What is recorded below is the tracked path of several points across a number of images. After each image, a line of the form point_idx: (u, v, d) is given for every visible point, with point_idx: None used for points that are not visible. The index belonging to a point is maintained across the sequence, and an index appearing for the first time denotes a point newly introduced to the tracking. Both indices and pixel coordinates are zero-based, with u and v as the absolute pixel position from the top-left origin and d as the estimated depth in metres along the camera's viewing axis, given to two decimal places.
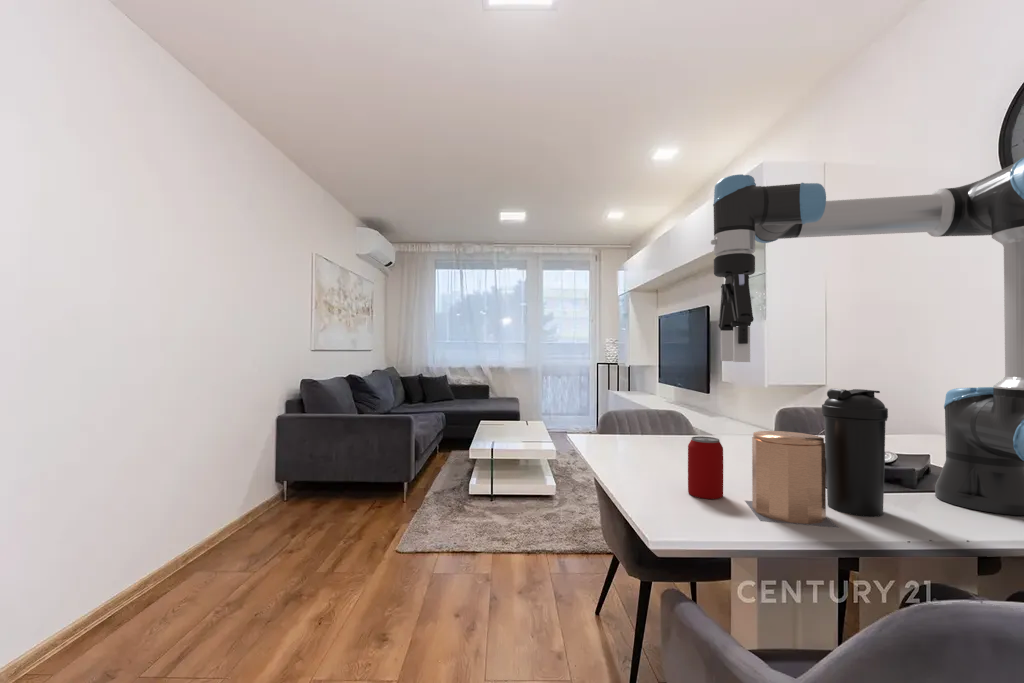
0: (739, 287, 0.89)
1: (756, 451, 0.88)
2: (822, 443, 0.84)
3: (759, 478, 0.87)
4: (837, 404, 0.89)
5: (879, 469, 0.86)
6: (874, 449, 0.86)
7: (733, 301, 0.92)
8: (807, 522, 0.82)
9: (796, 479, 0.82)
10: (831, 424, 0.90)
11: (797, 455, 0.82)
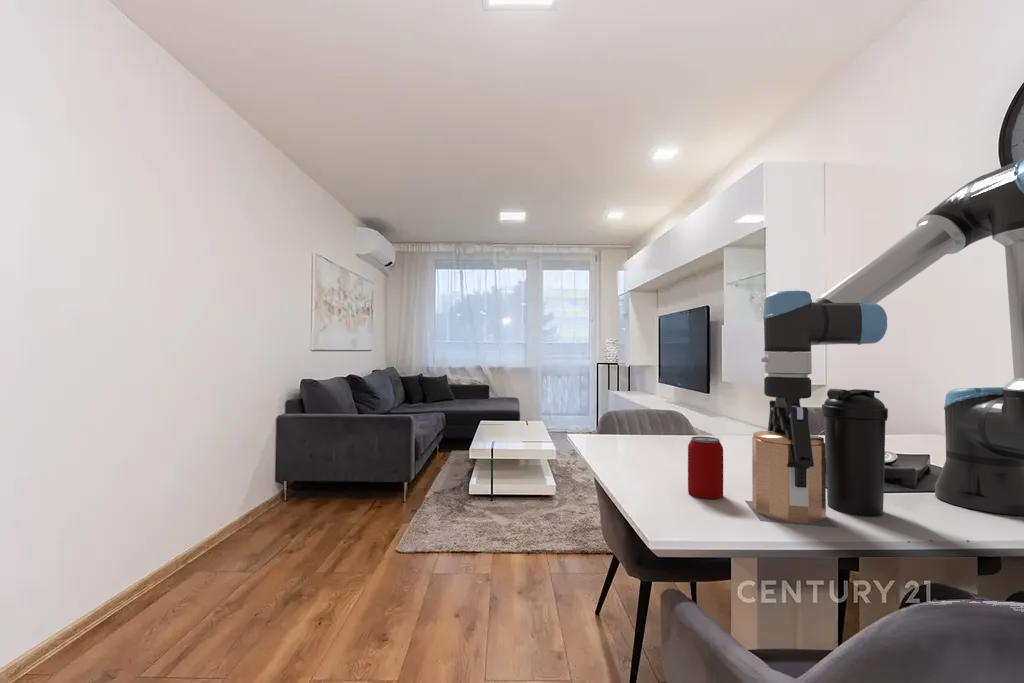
0: (797, 423, 0.81)
1: (756, 451, 0.88)
2: (822, 443, 0.84)
3: (759, 478, 0.87)
4: (837, 404, 0.89)
5: (879, 469, 0.86)
6: (874, 449, 0.86)
7: (788, 434, 0.84)
8: (807, 522, 0.82)
9: None
10: (831, 424, 0.90)
11: None
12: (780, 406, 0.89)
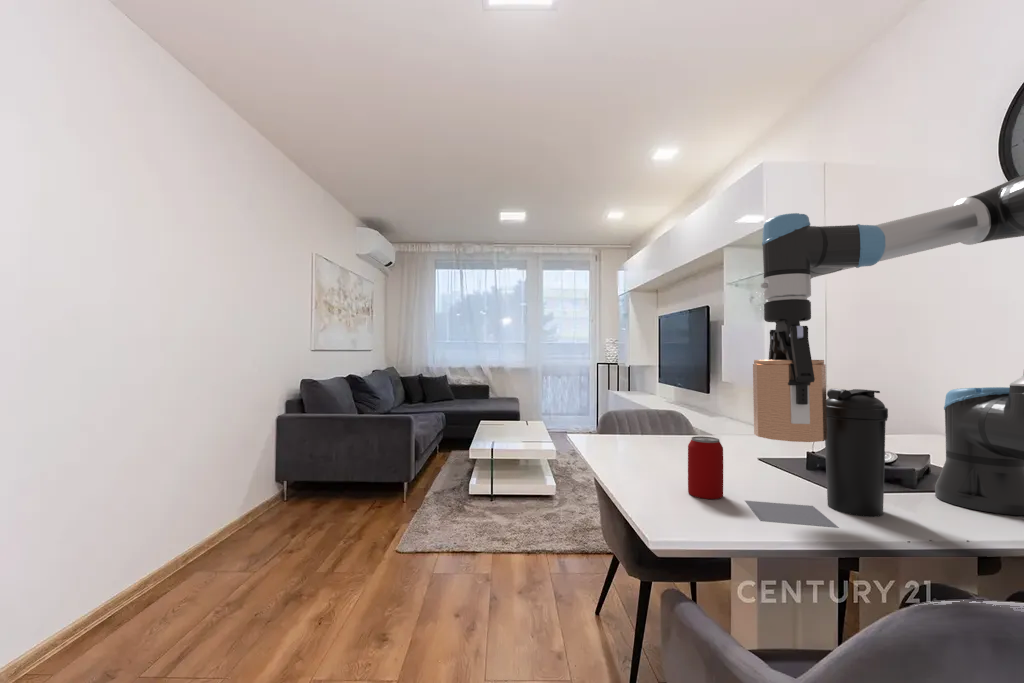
0: (797, 341, 0.82)
1: (757, 375, 0.88)
2: (822, 363, 0.84)
3: (760, 401, 0.87)
4: (837, 404, 0.89)
5: (879, 469, 0.86)
6: (874, 449, 0.86)
7: (789, 354, 0.84)
8: (809, 440, 0.82)
9: None
10: (831, 424, 0.90)
11: None
12: (780, 331, 0.89)
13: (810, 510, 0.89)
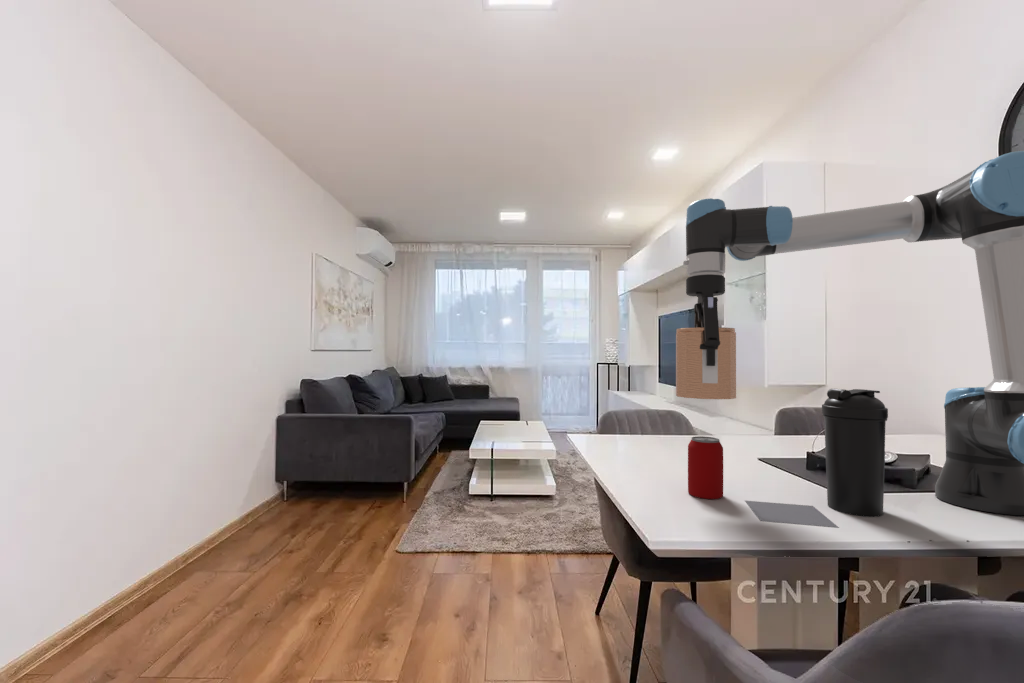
0: (708, 310, 0.93)
1: (677, 342, 0.99)
2: (732, 331, 0.95)
3: (679, 365, 0.98)
4: (837, 404, 0.89)
5: (879, 469, 0.86)
6: (874, 449, 0.86)
7: (703, 323, 0.95)
8: (717, 397, 0.93)
9: None
10: (831, 424, 0.90)
11: None
12: None
13: (810, 510, 0.89)
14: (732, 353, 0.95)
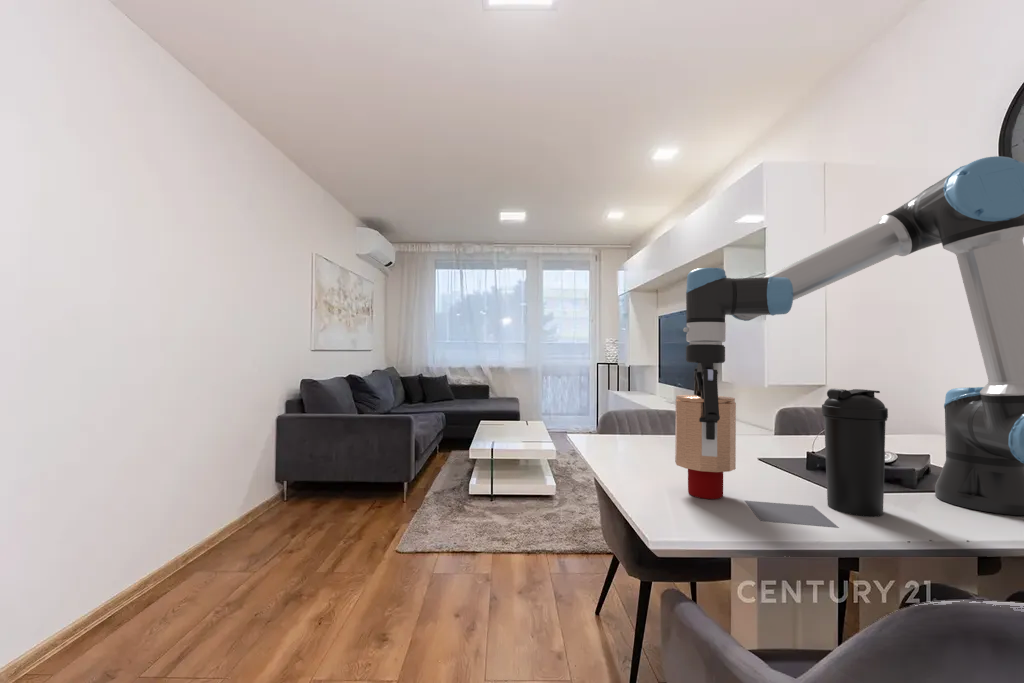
0: (708, 383, 0.92)
1: (677, 410, 0.99)
2: (732, 402, 0.95)
3: (678, 434, 0.98)
4: (837, 404, 0.89)
5: (879, 469, 0.86)
6: (874, 449, 0.86)
7: (702, 394, 0.95)
8: (716, 470, 0.93)
9: None
10: (831, 424, 0.90)
11: None
12: (699, 371, 1.00)
13: (810, 510, 0.89)
14: (732, 424, 0.95)
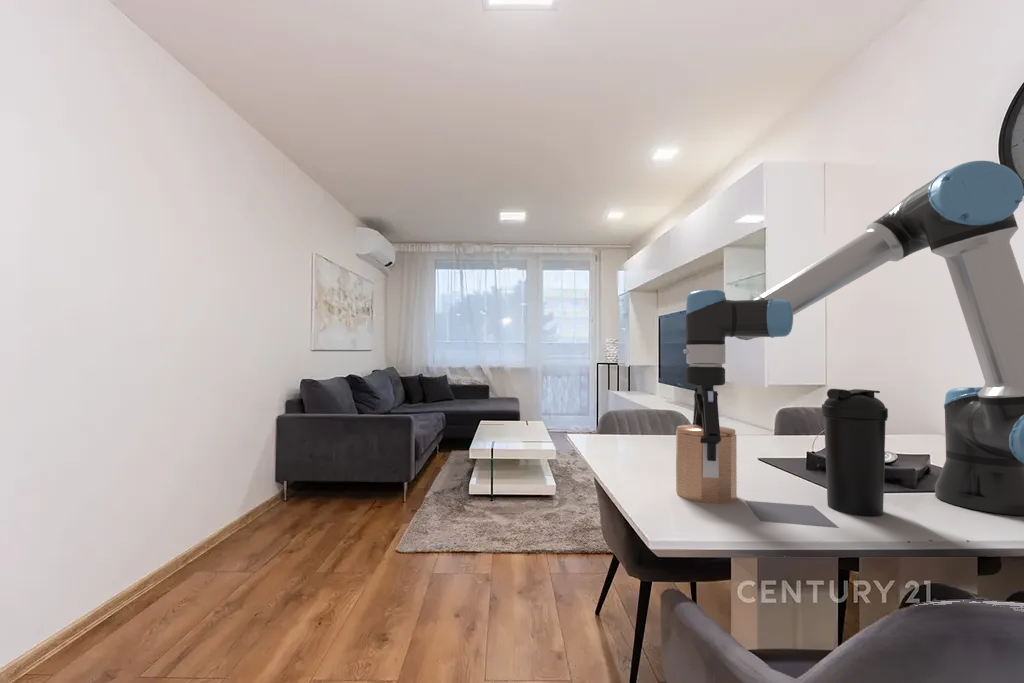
0: (708, 404, 0.92)
1: (677, 442, 0.99)
2: (732, 435, 0.95)
3: (679, 466, 0.98)
4: (837, 404, 0.89)
5: (879, 469, 0.86)
6: (874, 449, 0.86)
7: (703, 415, 0.95)
8: None
9: None
10: (831, 424, 0.90)
11: None
12: None
13: (810, 510, 0.89)
14: (732, 458, 0.95)
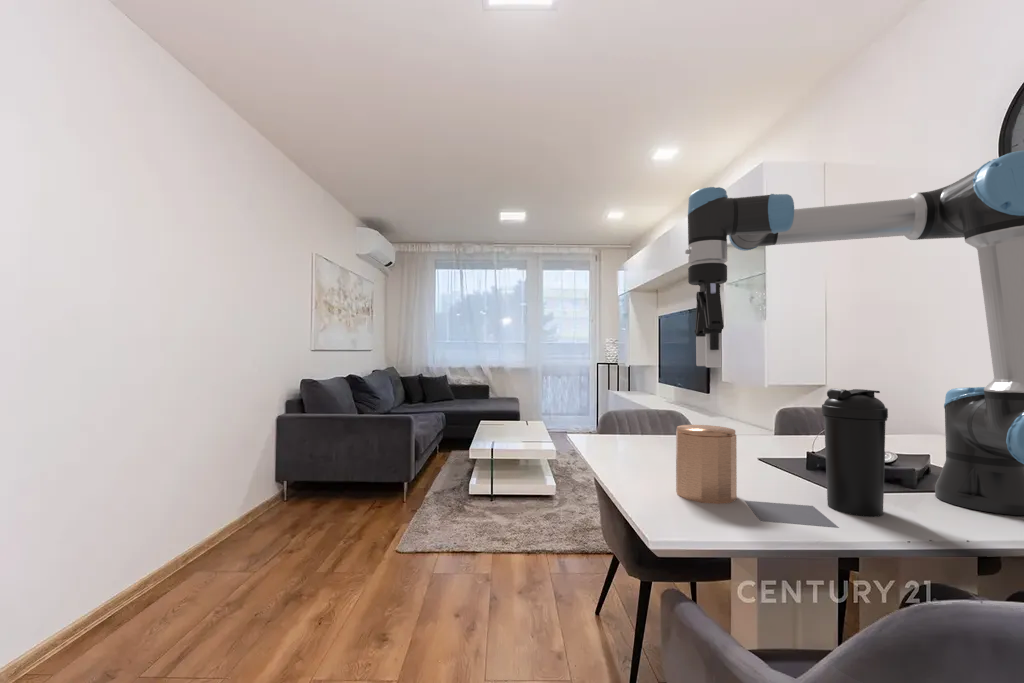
0: (711, 295, 0.93)
1: (677, 442, 0.99)
2: (732, 435, 0.95)
3: (679, 466, 0.98)
4: (837, 404, 0.89)
5: (879, 469, 0.86)
6: (874, 449, 0.86)
7: (705, 309, 0.95)
8: None
9: (708, 466, 0.93)
10: (831, 424, 0.90)
11: (709, 445, 0.93)
12: None
13: (810, 510, 0.89)
14: (732, 458, 0.95)
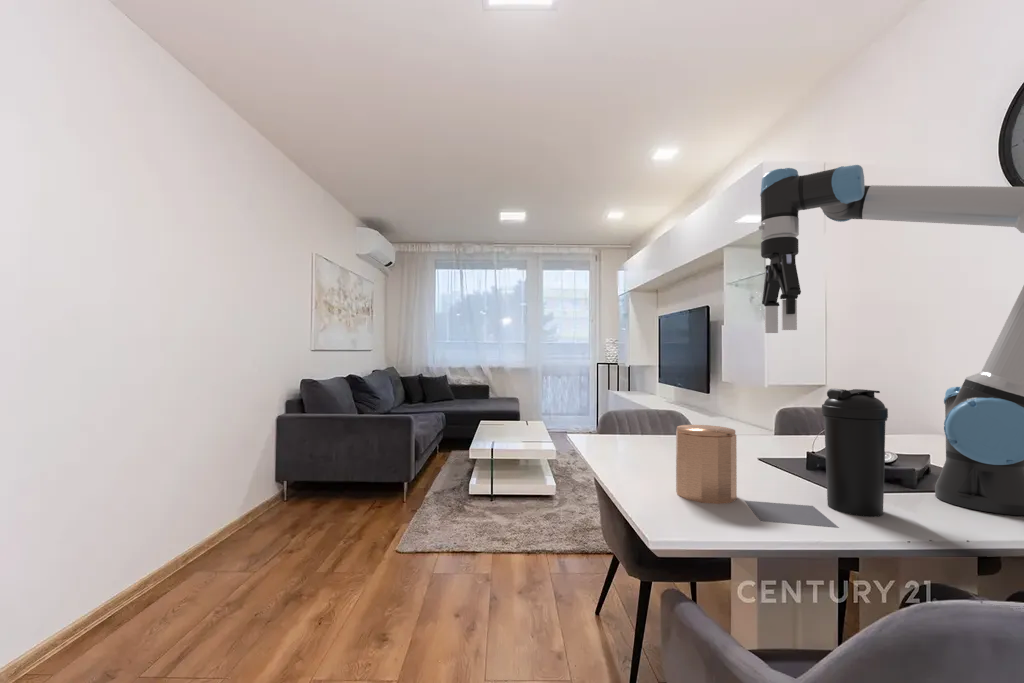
0: (787, 265, 1.03)
1: (677, 442, 0.99)
2: (732, 435, 0.95)
3: (679, 466, 0.98)
4: (837, 404, 0.89)
5: (879, 469, 0.86)
6: (874, 449, 0.86)
7: (781, 278, 1.05)
8: None
9: (708, 466, 0.93)
10: (831, 424, 0.90)
11: (709, 445, 0.93)
12: None
13: (810, 510, 0.89)
14: (732, 458, 0.95)
